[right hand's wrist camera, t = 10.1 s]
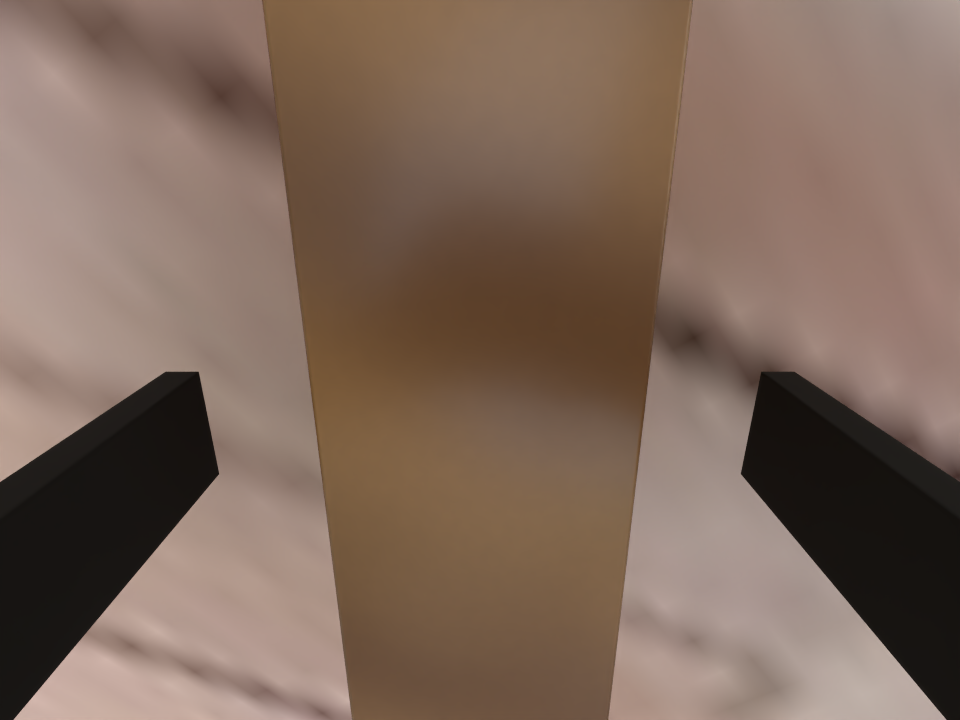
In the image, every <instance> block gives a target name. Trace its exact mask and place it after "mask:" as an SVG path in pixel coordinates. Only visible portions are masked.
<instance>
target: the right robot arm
mask: <svg viewBox="0 0 960 720" xmlns="http://www.w3.org/2000/svg"><path fill="white" fill-rule="evenodd" d="M218 475H219V471H218V466H217V461H216V456H215V451H214V446H213V441H212V436H211V431H210V426H209V421H208V416H207V411H206V406H205V401H204V396H203V391H202V386H201V381H200V376H199V372H165V373H163V374H162V375H160V376H159V377H157V378H156V379H154V380H153V381H151V382H150V383H148V384H147V385H145V386H144V387H142V388H141V389H139V390H138V391H136V392H135V393H133V394H132V395H130V396H129V397H127V398H126V399H124V400H123V401H121V402H120V403H118V404H117V405H115V406H114V407H112V408H111V409H109V410H108V411H106V412H105V413H103V414H102V415H100V416H99V417H97V418H96V419H94V420H93V421H91V422H90V423H88V424H87V425H85V426H84V427H82V428H81V429H79V430H78V431H76V432H75V433H73V434H72V435H70V436H69V437H67V438H66V439H64V440H63V441H61V442H60V443H58V444H57V445H55V446H54V447H52V448H51V449H49V450H48V451H46V452H45V453H43V454H42V455H40V456H39V457H37V458H36V459H34V460H33V461H31V462H30V463H28V464H27V465H25V466H24V467H22V468H21V469H19V470H18V471H16V472H15V473H13V474H12V475H10V476H9V477H7V478H6V479H4V480H3V481H1V482H0V720H14V718H15V717H16V716H17V715H18V714H19V712H20V711H21V710H22V709H23V708H24V706H25V705H26V704H27V703H28V702H29V700H30V699H31V698H32V697H33V696H34V694H35V693H36V692H37V691H38V690H39V689H40V687H41V686H42V685H43V684H44V683H45V681H46V680H47V679H48V678H49V677H50V675H51V674H52V673H53V672H54V671H55V669H56V668H57V667H58V666H59V665H60V663H61V662H62V661H63V660H64V659H65V657H66V656H67V655H68V654H69V653H70V651H71V650H72V649H73V648H74V647H75V646H76V644H77V643H78V642H79V641H80V640H81V638H82V637H83V636H84V635H85V634H86V632H87V631H88V630H89V629H90V628H91V626H92V625H93V624H94V623H95V622H96V620H97V619H98V618H99V617H100V616H101V614H102V613H103V612H104V611H105V610H106V608H107V607H108V606H109V605H110V604H111V602H112V601H113V600H114V599H115V598H116V597H117V595H118V594H119V593H120V592H121V591H122V589H123V588H124V587H125V586H126V585H127V583H128V582H129V581H130V580H131V579H132V577H133V576H134V575H135V574H136V573H137V571H138V570H139V569H140V568H141V567H142V565H143V564H144V563H145V562H146V561H147V559H148V558H149V557H150V556H151V555H152V554H153V552H154V551H155V550H156V549H157V548H158V546H159V545H160V544H161V543H162V542H163V540H164V539H165V538H166V537H167V536H168V534H169V533H170V532H171V531H172V530H173V528H174V527H175V526H176V525H177V524H178V522H179V521H180V520H181V519H182V518H183V516H184V515H185V514H186V513H187V512H188V510H189V509H190V508H191V507H192V506H193V505H194V503H195V502H196V501H197V500H198V499H199V497H200V496H201V495H202V494H203V493H204V491H205V490H206V489H207V488H208V487H209V485H210V484H211V483H212V482H213V481H214V479H215V478H216V477H217V476H218ZM741 475H742V476H743V477H744V478H745V479H746V481H747V482H748V483H749V484H750V485H751V487H752V488H753V489H754V490H755V491H756V493H757V494H758V495H759V496H760V497H761V499H762V500H763V501H764V502H765V503H766V505H767V506H768V507H769V508H770V509H771V510H772V512H773V513H774V514H775V515H776V516H777V518H778V519H779V520H780V521H781V522H782V524H783V525H784V526H785V527H786V528H787V530H788V531H789V532H790V533H791V534H792V536H793V537H794V538H795V539H796V540H797V542H798V543H799V544H800V545H801V546H802V548H803V549H804V550H805V551H806V552H807V554H808V555H809V556H810V557H811V558H812V559H813V561H814V562H815V563H816V564H817V565H818V567H819V568H820V569H821V570H822V571H823V573H824V574H825V575H826V576H827V577H828V579H829V580H830V581H831V582H832V583H833V585H834V586H835V587H836V588H837V589H838V591H839V592H840V593H841V594H842V595H843V597H844V598H845V599H846V600H847V601H848V602H849V604H850V605H851V606H852V607H853V608H854V610H855V611H856V612H857V613H858V614H859V616H860V617H861V618H862V619H863V620H864V622H865V623H866V624H867V625H868V626H869V628H870V629H871V630H872V631H873V632H874V634H875V635H876V636H877V637H878V638H879V640H880V641H881V642H882V643H883V644H884V646H885V647H886V648H887V649H888V650H889V651H890V653H891V654H892V655H893V656H894V657H895V659H896V660H897V661H898V662H899V663H900V665H901V666H902V667H903V668H904V669H905V671H906V672H907V673H908V674H909V675H910V677H911V678H912V679H913V680H914V681H915V683H916V684H917V685H918V686H919V687H920V689H921V690H922V691H923V692H924V693H925V694H926V696H927V697H928V698H929V699H930V700H931V702H932V703H933V704H934V705H935V706H936V708H937V709H938V710H939V711H940V712H941V714H942V715H943V716H944V717H945V718H946V720H960V482H959V481H957V480H956V479H954V478H953V477H951V476H950V475H948V474H947V473H945V472H944V471H942V470H941V469H939V468H938V467H936V466H935V465H933V464H932V463H930V462H929V461H927V460H926V459H924V458H923V457H921V456H920V455H918V454H917V453H915V452H914V451H912V450H911V449H909V448H908V447H906V446H905V445H903V444H902V443H900V442H899V441H897V440H896V439H894V438H893V437H891V436H890V435H888V434H887V433H885V432H884V431H882V430H881V429H879V428H878V427H876V426H875V425H873V424H872V423H870V422H869V421H867V420H866V419H864V418H863V417H861V416H860V415H858V414H857V413H855V412H854V411H852V410H851V409H849V408H848V407H846V406H845V405H843V404H842V403H840V402H839V401H837V400H836V399H834V398H833V397H831V396H830V395H828V394H827V393H825V392H824V391H822V390H821V389H819V388H818V387H816V386H815V385H813V384H812V383H810V382H809V381H807V380H806V379H804V378H803V377H801V376H800V375H798V374H797V373H795V372H761V376H760V381H759V386H758V391H757V396H756V401H755V406H754V411H753V416H752V421H751V426H750V431H749V436H748V441H747V446H746V451H745V456H744V461H743V466H742V471H741Z"/></svg>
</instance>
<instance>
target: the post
mask: <svg viewBox="0 0 960 720" xmlns="http://www.w3.org/2000/svg"><path fill="white" fill-rule="evenodd" d="M262 2H263V10H264V18H265V26H266V34H267V42H268V50H269V58H270V66H271V74H272V82H273V90H274V98H275V106H276V114H277V122H278V130H279V138H280V146H281V154H282V162H283V170H284V178H285V186H286V194H287V202H288V210H289V218H290V226H291V234H292V242H293V250H294V258H295V266H296V274H297V282H298V290H299V298H300V306H301V314H302V322H303V330H304V338H305V346H306V354H307V362H308V370H309V378H310V386H311V394H312V402H313V410H314V418H315V426H316V434H317V442H318V450H319V458H320V466H321V474H322V482H323V490H324V498H325V506H326V514H327V522H328V530H329V538H330V546H331V554H332V562H333V570H334V578H335V586H336V594H337V602H338V610H339V618H340V626H341V634H342V642H343V650H344V658H345V666H346V674H347V682H348V690H349V698H350V706H351V714H352V720H608V716H609V708H610V699H611V691H612V682H613V674H614V666H615V657H616V649H617V640H618V632H619V623H620V615H621V606H622V598H623V589H624V581H625V572H626V564H627V555H628V547H629V538H630V530H631V521H632V513H633V504H634V496H635V487H636V479H637V470H638V462H639V453H640V445H641V436H642V428H643V419H644V411H645V402H646V394H647V385H648V377H649V369H650V360H651V352H652V343H653V335H654V326H655V318H656V309H657V301H658V292H659V284H660V275H661V267H662V258H663V250H664V241H665V233H666V224H667V216H668V207H669V199H670V190H671V182H672V173H673V165H674V156H675V148H676V139H677V131H678V122H679V114H680V105H681V97H682V88H683V80H684V72H685V63H686V55H687V46H688V38H689V29H690V21H691V12H692V4H693V0H262Z"/></svg>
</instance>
